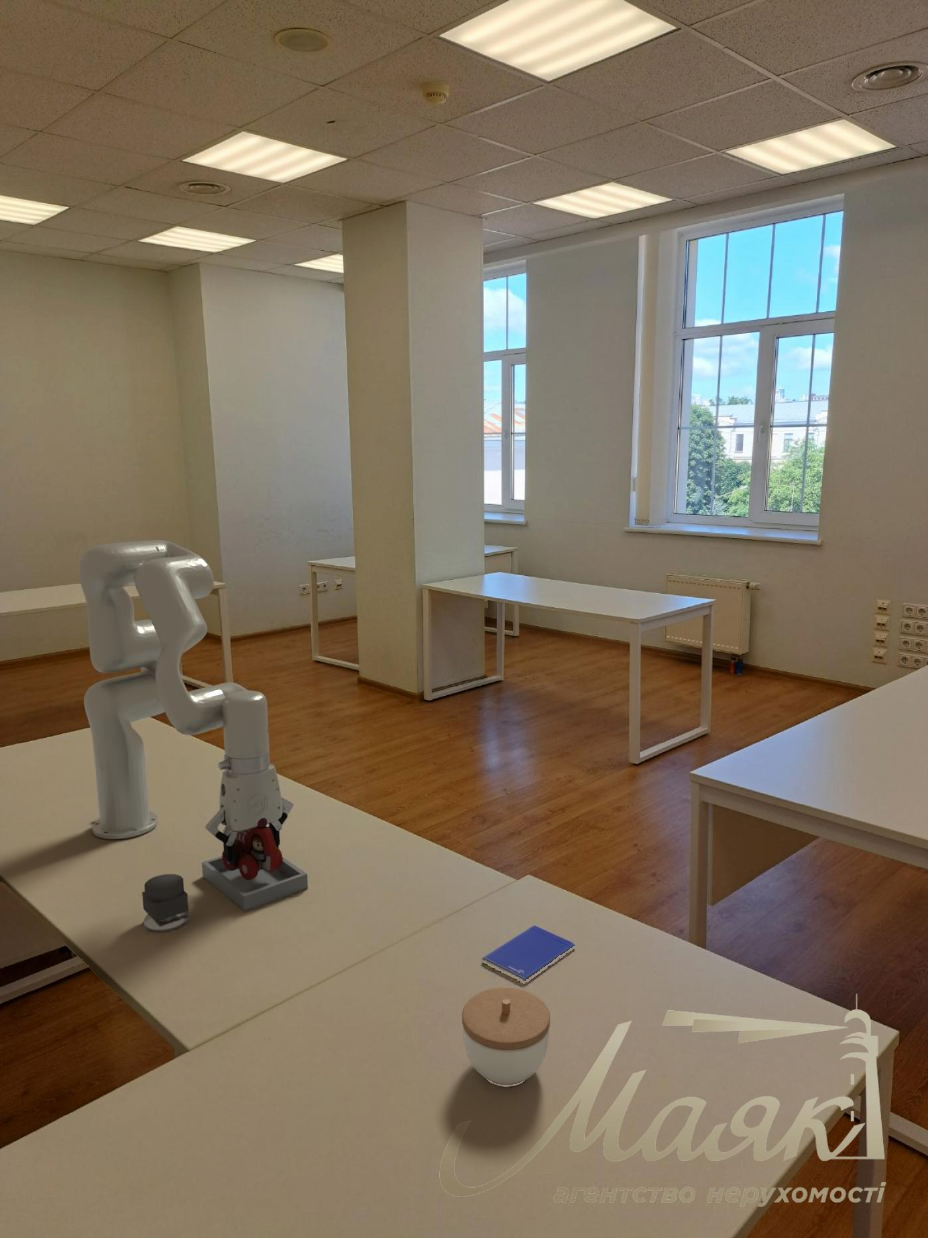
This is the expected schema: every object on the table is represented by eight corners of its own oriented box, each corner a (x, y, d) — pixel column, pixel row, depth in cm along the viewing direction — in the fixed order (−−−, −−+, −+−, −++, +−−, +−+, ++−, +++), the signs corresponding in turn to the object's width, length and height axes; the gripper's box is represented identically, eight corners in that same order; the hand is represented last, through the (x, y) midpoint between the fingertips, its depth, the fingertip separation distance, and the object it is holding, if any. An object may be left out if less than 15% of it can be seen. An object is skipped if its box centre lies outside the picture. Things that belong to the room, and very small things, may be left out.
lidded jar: (484, 1113, 98) (484, 1040, 97) (448, 1055, 108) (448, 987, 106) (565, 1085, 103) (566, 1015, 101) (524, 1032, 112) (524, 967, 111)
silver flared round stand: (137, 920, 141) (135, 893, 140) (179, 905, 145) (177, 879, 144) (153, 937, 135) (151, 909, 134) (196, 922, 140) (194, 895, 139)
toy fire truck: (258, 887, 146) (255, 830, 144) (217, 865, 154) (213, 810, 152) (291, 872, 151) (288, 817, 149) (249, 852, 159) (246, 799, 157)
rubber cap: (140, 909, 140) (138, 881, 139) (176, 897, 144) (174, 870, 143) (154, 923, 136) (152, 895, 135) (191, 910, 139) (189, 883, 139)
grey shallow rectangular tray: (202, 876, 155) (201, 862, 155) (263, 856, 163) (262, 843, 162) (244, 912, 143) (243, 896, 142) (307, 888, 151) (307, 874, 150)
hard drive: (524, 978, 122) (575, 943, 131) (482, 956, 128) (533, 924, 137) (524, 988, 123) (574, 952, 132) (482, 966, 128) (532, 933, 137)
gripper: (209, 780, 141) (215, 879, 144) (302, 756, 152) (306, 849, 155) (190, 768, 146) (197, 864, 149) (281, 746, 157) (286, 836, 160)
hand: (252, 856), depth 152 cm, fingers closed on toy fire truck, 7 cm apart
